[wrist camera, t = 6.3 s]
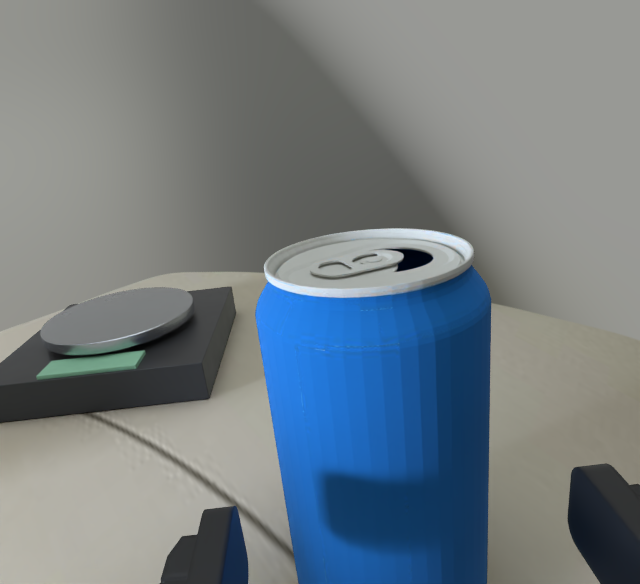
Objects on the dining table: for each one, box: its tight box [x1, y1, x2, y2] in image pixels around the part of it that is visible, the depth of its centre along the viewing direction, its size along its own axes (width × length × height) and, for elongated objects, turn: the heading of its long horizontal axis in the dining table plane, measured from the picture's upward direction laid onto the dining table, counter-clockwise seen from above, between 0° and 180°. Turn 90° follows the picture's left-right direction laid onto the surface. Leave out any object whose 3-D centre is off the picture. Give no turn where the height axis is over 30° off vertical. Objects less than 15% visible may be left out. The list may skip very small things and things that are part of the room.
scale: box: [0, 287, 236, 422], centre depth 36 cm, size 14×14×3 cm
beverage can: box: [255, 228, 491, 584], centre depth 15 cm, size 6×6×12 cm
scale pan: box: [40, 287, 195, 355], centre depth 36 cm, size 10×10×1 cm
